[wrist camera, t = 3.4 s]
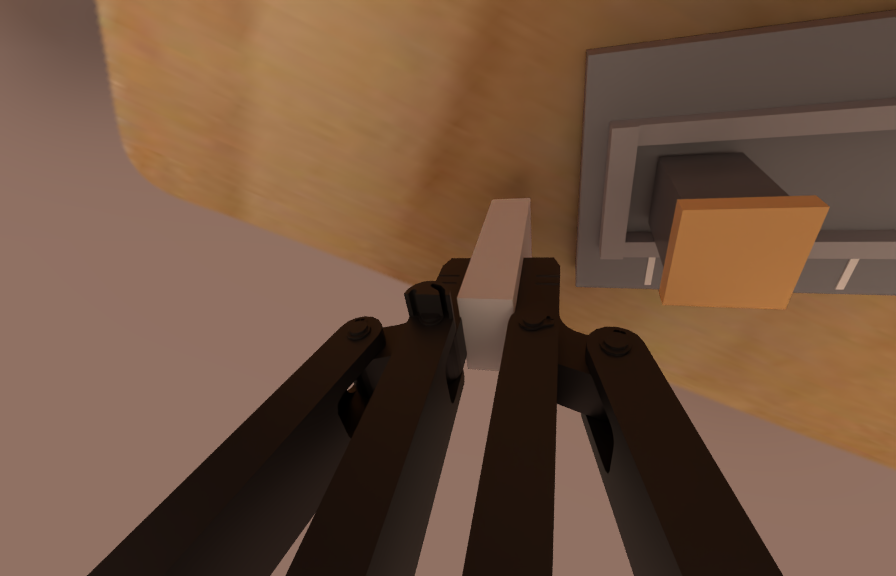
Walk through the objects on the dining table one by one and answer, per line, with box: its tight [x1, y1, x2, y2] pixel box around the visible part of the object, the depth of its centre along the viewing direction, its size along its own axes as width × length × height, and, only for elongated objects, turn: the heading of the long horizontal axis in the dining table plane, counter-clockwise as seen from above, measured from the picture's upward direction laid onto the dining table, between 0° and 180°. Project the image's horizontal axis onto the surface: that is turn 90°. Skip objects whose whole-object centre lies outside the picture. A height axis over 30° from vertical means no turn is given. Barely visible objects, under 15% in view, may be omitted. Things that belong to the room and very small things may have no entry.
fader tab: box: [648, 152, 830, 309], centre depth 15 cm, size 4×4×6 cm
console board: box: [575, 10, 896, 295], centre depth 16 cm, size 23×11×3 cm, turn 98°
